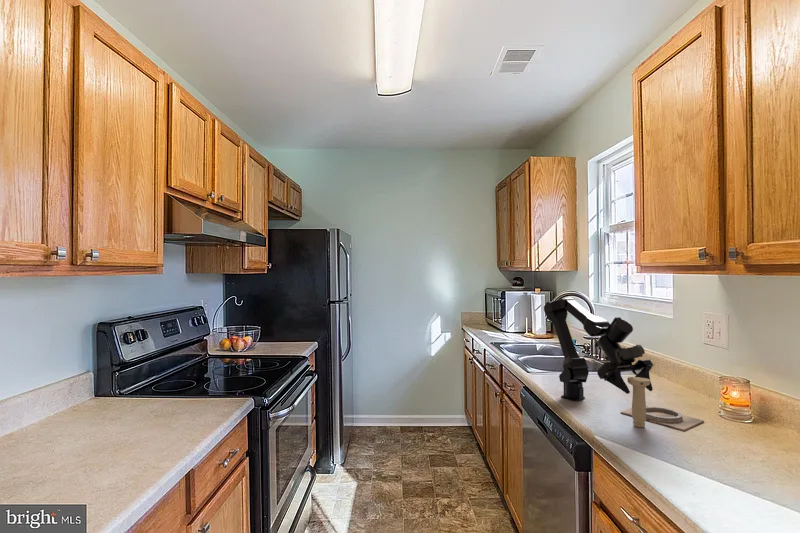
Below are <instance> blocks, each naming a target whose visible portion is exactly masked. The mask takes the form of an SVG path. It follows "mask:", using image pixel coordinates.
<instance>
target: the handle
mask: <svg viewBox="0 0 800 533" xmlns="http://www.w3.org/2000/svg"><path fill="white" fill-rule="evenodd" d="M650 381H651V378H650V379H647V378H641V377H635V376H632V377H629V376H628V377H627V383H628V384H629V385H631V386H632V397H631V398H632V399H631V400H632V401H631V408H632V416H631V417H632V425H633V426H634V427H636V428H645V426H646V406H647V404H646V403H647V402H646V401H647V400H646V386H648V385H650Z"/></svg>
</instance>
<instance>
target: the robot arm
mask: <svg viewBox="0 0 800 533" xmlns="http://www.w3.org/2000/svg"><path fill="white" fill-rule="evenodd" d="M543 311H544V314H545V316H546V318H547V320H548V321H550V322H551V323H552V324H553V327H554V331H555V333H556V336H557V338H558V342H559V345H560V348H561V351H562V353H563V358H564V360H563V364H562V368H563V370H562V372H561V373H560V374H559V376H558V378H559V381H560V382H561V383H563V394H562V395H560V397H561V398H564V399H567V400H570V401H573V402H577V401H581V400H584V399H586V396H584V395H585V394H584V386H583V383H587V381H588V377H589V366H588V363H587V360H586V358H585V357H581V356H580V355H579V354H578V352H577V349H576V346H575V343H574V341H573V340H574V339H573V336H572V335H571V331H570V329H569V326H568V323H567V318H568V313H569V314H570V315H571V316H573V317H574V318H575V319H576V320H578V321H579V322H580V323H581V324H582V326H583V330H584V331H585V332H586V333H587V335H588V336H589V337H591V338H593V337H595V338H596V337H598V339H595V343H594V348H595V349H598V348H600V349H601V350H602V352H603V353H604V355H605V356H606V357H605V358H604V360H605V361H606V362H604V363H603V364H602V365H600V367H599V368H598V369H597V376H598V377H599V379H600V380H603V381H605V382H608V383H610V384H611V385H612V386H615V387H616V388H618V389H619V390H620V391H622V392H624V393H625V394H626V395H628V394H630V393H631V392H630V389H629V387H628V385H627V383H626V382H625V380H624V378H623V377H622V374H621V373H624V372H631V373H632V374H633V375H635V376H634V377H641V378H647V379H650V385H648V386H646V387H645V389H647V390H648V391H649V392H652V391H653V385H652V380H651V378H650V371H652V368H653V366H654V363H653V362H652V361H651V359H648V358H646V359H645V358H644V359H639V360H637V361H636V359H637V358H642V357H643V356H644V355H645V352H646V351H645V349H644V347H643V346H642V345H641V344H636V345H633V346H631V347H627V348H626V347H622V346H621V345H620V344H621V343H623V342H624V341H625V340H626V339H627V338H628V337H630V335H631V334H632V332H633V331H634V327H633V325H632V324H631V323H629V322H628V321H626V320H625V319H622V317H621V316H618V317H617V316H616V317H615V316H614V318H613V320H612V322H611V323H610V322H609V321H608V320H606V319H604V318H603V317H601V316H597V315H594V314H592V313H591V312H590V311H588V309H586V308H585V307H583V305H581V304H579V302H577V301H576V300H575V298H573V297H562V298H559V299H558V300H554V301H547V302H546V303H545V305H544V306H543ZM634 362H635V363H634ZM633 363H634V364H633Z"/></svg>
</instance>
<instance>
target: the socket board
mask: <svg viewBox="0 0 800 533" xmlns="http://www.w3.org/2000/svg"><path fill="white" fill-rule="evenodd" d="M620 414H622V415H625V416H628V417H632V407H631V408H628V409H624V410H621V411H620ZM646 421H647V422H649V421H650V423H653V422H654V424H656V423H657V425H660V426H663V425H664V427H667V428H670V429H674V430H678V431H682V432H685V431H687V430H690V429H692V428H694V427H696V426H697V427H698V426H699V425H701V424H703V423H705V419H704V420H703V419H700V418H696V417H692V416H687V415H684V414H682V413H681V412H680V411H677V410H674V409H671V408H667V407H661V406H649V405H646V420H645V422H646Z"/></svg>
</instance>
